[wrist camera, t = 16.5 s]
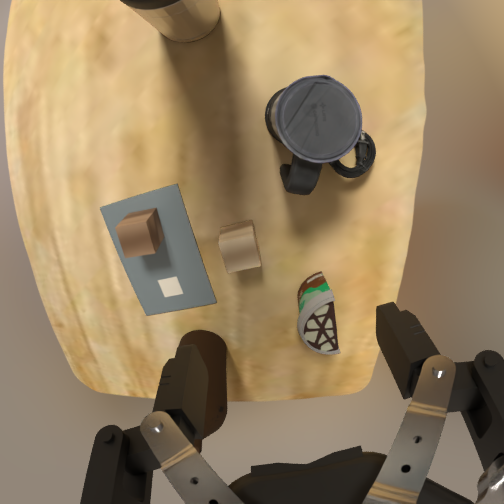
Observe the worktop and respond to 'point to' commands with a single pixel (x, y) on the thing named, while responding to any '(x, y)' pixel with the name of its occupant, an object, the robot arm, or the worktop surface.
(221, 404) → the olive oil
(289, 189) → the milk frother
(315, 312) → the food container
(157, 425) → the robot arm
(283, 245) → the worktop surface
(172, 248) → the mat
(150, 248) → the walnut block
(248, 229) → the maple block
